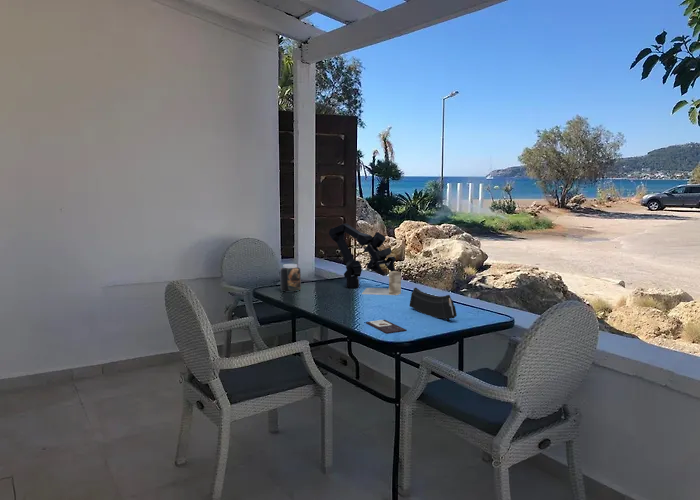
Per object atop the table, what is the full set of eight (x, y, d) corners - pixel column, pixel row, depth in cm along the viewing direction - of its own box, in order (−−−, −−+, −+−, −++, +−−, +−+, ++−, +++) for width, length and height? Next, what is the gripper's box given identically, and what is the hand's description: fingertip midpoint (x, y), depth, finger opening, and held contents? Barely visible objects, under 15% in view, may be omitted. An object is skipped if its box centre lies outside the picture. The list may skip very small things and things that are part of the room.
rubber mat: (361, 295, 266) (361, 294, 266) (366, 288, 285) (366, 287, 284) (398, 296, 262) (398, 295, 262) (401, 289, 281) (401, 288, 281)
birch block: (389, 293, 265) (389, 272, 264) (394, 292, 269) (394, 271, 267) (395, 295, 262) (395, 272, 261) (400, 293, 265) (400, 271, 264)
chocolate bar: (386, 332, 190) (365, 322, 207) (386, 335, 190) (365, 324, 207) (406, 329, 194) (384, 319, 210) (406, 332, 194) (384, 321, 210)
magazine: (406, 289, 234) (444, 280, 207) (412, 288, 235) (450, 279, 209) (412, 325, 231) (451, 320, 205) (417, 324, 232) (458, 319, 206)
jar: (277, 292, 277) (276, 265, 275) (285, 288, 288) (285, 263, 287) (296, 293, 274) (295, 266, 272) (304, 289, 285) (303, 263, 283)
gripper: (370, 244, 263) (386, 266, 256) (393, 242, 276) (408, 263, 269) (360, 258, 269) (375, 280, 262) (383, 255, 282) (398, 276, 275)
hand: (389, 274), depth 267 cm, fingers open, 9 cm apart
